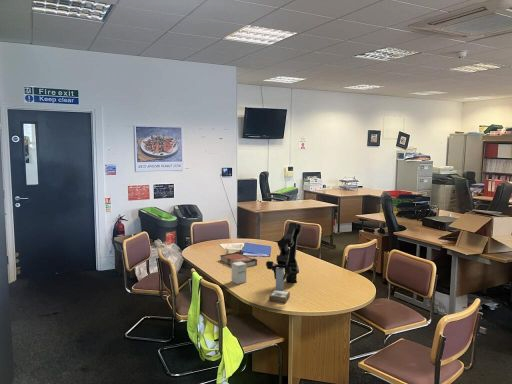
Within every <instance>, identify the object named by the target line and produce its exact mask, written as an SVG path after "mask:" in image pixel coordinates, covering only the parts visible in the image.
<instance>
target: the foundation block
mask: <svg viewBox="0 0 512 384" xmlns="http://www.w3.org/2000/svg"><path fill="white" fill-rule="evenodd" d="M290 297H291V292H290V291H285V290H283V291H277V290H276V289H273V290H272V292H271V293H270V294H269V295H268V301H269V302H274V303H275V302H276V303H282V304H287V302H288V301H289V298H290Z"/></svg>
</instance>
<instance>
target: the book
mask: <svg viewBox="0 0 512 384" xmlns="http://www.w3.org/2000/svg"><path fill="white" fill-rule="evenodd" d="M219 257H220V259H219V260H220V261H221V262H222V263H225V264H227V265H228V266H231V267H232V263H235V262H240V261H241V262H243V263H246V268H250V267H254V266H257V265H258V259H257V258H251V257H250V256H247V255H245V254H241V252H240V251H235V252H231V253H225V254H221V255H220V256H219Z"/></svg>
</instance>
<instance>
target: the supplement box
mask: <svg viewBox="0 0 512 384" xmlns="http://www.w3.org/2000/svg"><path fill="white" fill-rule="evenodd" d="M231 282H232V283H235V285H240V284H244V283H247V267H246V263H243V262H241V261H240V262H235V263H232V266H231Z"/></svg>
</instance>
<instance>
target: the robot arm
mask: <svg viewBox="0 0 512 384" xmlns="http://www.w3.org/2000/svg"><path fill="white" fill-rule="evenodd" d="M302 231H303V226H302V224H300V223H297V222H289V223H288V228H287V230H286V233H285V234H284V235H283V236H282V237H281V239H279V240H278V241H277V247H278V251H279V255H278V254H276V260H275V261H276V263H275V262H274V261H271V260H268V261H266V262H265V266H266V267H265V268H266V269H267V270H272V272H273V276H274V280H276V268H284V278H283V280H284V281H286V283H287V284H294V283H295V284H297V283H298V281H297V277H298V276H297V275H298V274H300V269H299V265H298V261H297V259H296V257H297V250H298V249H297V247H298V238H299V237H300V235H301V234H302Z"/></svg>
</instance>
